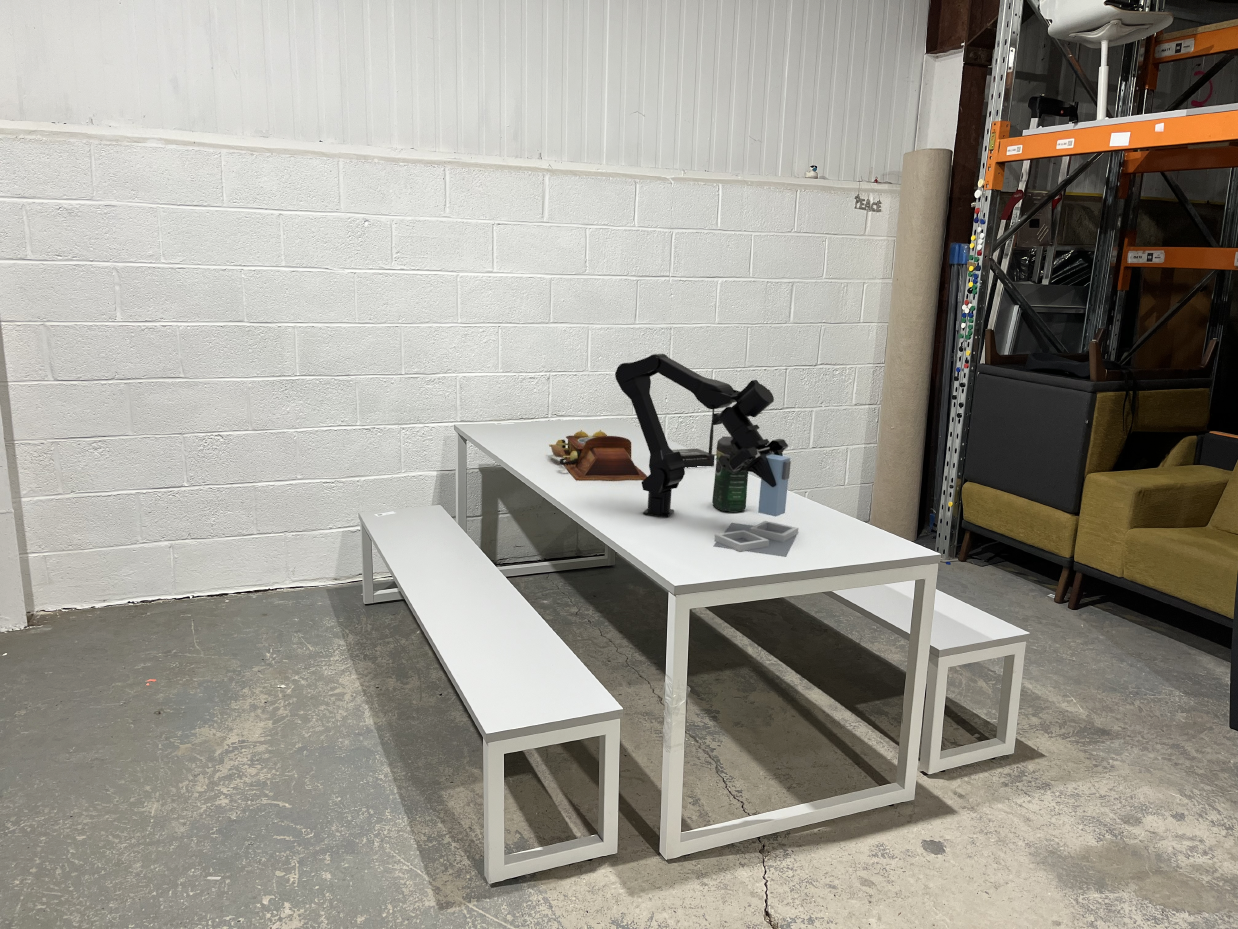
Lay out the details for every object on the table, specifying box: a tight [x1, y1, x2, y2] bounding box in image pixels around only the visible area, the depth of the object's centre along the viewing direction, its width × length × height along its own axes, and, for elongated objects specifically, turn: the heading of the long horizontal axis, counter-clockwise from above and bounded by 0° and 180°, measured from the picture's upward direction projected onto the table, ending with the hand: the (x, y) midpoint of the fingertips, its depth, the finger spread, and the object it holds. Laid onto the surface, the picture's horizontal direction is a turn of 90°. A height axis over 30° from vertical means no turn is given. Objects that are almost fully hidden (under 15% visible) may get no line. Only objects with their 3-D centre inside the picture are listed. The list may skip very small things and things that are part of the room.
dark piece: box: [671, 409, 716, 468], centre depth 289 cm, size 20×14×17 cm
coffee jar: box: [711, 436, 749, 513], centre depth 238 cm, size 10×8×19 cm
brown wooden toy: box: [548, 429, 648, 482], centre depth 280 cm, size 24×12×40 cm
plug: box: [757, 454, 792, 517], centre depth 210 cm, size 5×4×13 cm
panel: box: [712, 520, 799, 558], centre depth 210 cm, size 22×17×2 cm
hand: (779, 484), depth 209 cm, fingers closed on plug, 4 cm apart
